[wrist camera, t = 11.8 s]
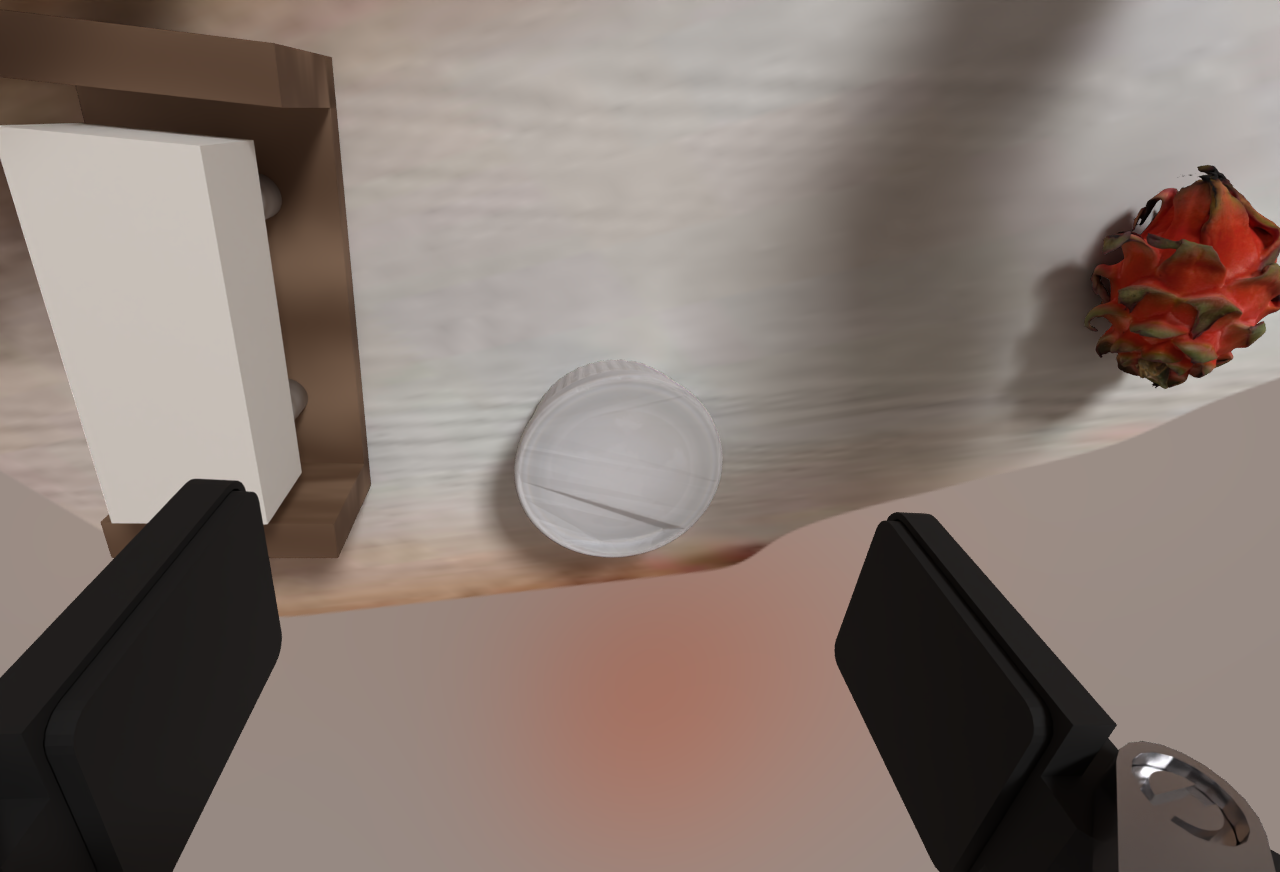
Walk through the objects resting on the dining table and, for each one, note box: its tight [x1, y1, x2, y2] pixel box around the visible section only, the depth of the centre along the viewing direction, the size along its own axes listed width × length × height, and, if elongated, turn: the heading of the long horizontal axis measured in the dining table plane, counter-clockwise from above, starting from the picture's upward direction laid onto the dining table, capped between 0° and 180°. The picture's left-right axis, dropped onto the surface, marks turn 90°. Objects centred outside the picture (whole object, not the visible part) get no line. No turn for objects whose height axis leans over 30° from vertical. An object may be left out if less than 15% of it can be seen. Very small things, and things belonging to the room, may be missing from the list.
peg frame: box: [0, 10, 371, 558], centre depth 29 cm, size 22×10×7 cm, turn 174°
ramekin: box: [514, 360, 722, 557], centre depth 37 cm, size 11×11×5 cm
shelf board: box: [0, 123, 302, 524], centre depth 26 cm, size 15×6×4 cm, turn 174°
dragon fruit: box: [1084, 165, 1280, 389], centre depth 36 cm, size 8×8×12 cm
